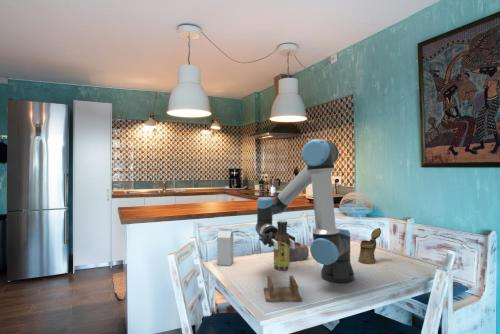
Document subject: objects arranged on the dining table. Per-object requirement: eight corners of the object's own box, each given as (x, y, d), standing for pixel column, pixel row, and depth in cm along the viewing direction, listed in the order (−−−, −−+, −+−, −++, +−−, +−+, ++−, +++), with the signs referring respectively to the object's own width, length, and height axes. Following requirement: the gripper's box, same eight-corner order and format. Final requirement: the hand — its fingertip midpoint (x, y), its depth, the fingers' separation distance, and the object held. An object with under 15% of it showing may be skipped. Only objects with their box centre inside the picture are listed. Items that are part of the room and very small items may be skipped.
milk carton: (230, 266, 170) (230, 230, 170) (217, 265, 171) (217, 229, 171) (233, 262, 177) (233, 227, 177) (221, 261, 178) (221, 227, 178)
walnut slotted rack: (296, 289, 137) (296, 275, 137) (301, 301, 125) (301, 285, 125) (263, 290, 137) (263, 275, 137) (266, 301, 125) (266, 286, 125)
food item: (301, 256, 188) (301, 239, 188) (310, 259, 181) (310, 242, 181) (281, 259, 182) (281, 241, 182) (289, 263, 175) (289, 245, 175)
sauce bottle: (270, 269, 131) (270, 220, 131) (279, 266, 135) (279, 218, 135) (283, 273, 126) (283, 222, 126) (292, 269, 131) (292, 220, 131)
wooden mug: (385, 262, 176) (385, 229, 176) (365, 264, 171) (365, 231, 171) (374, 257, 184) (374, 226, 184) (354, 260, 179) (354, 228, 179)
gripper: (289, 240, 150) (308, 253, 128) (249, 242, 147) (261, 256, 124) (289, 224, 150) (308, 235, 128) (249, 226, 147) (261, 237, 124)
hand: (285, 245), depth 126 cm, fingers closed on sauce bottle, 6 cm apart
